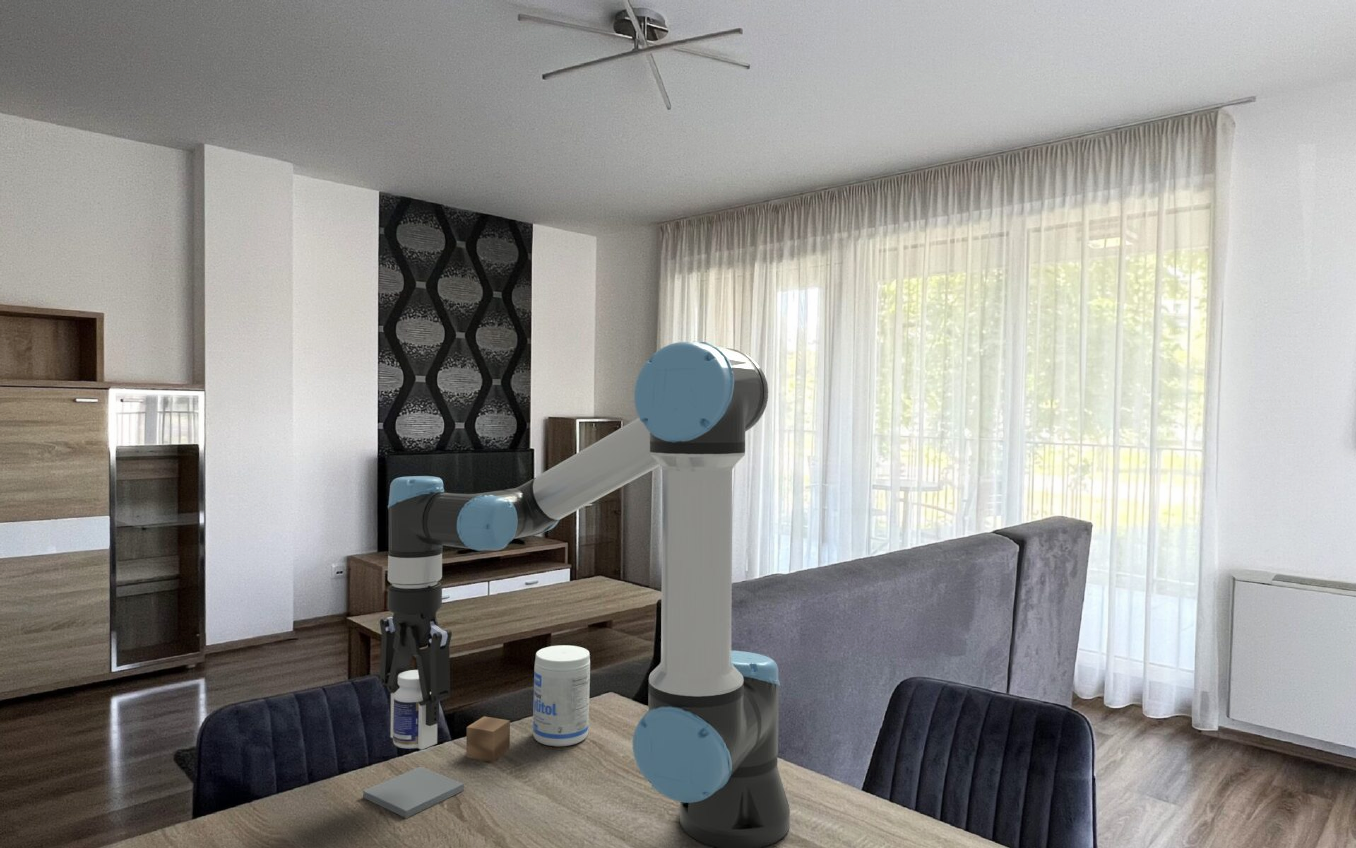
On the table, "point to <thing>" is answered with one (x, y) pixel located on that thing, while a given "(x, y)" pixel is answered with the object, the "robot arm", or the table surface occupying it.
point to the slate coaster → (413, 791)
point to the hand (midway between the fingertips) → (413, 740)
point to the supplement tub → (561, 695)
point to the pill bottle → (407, 710)
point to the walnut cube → (488, 739)
